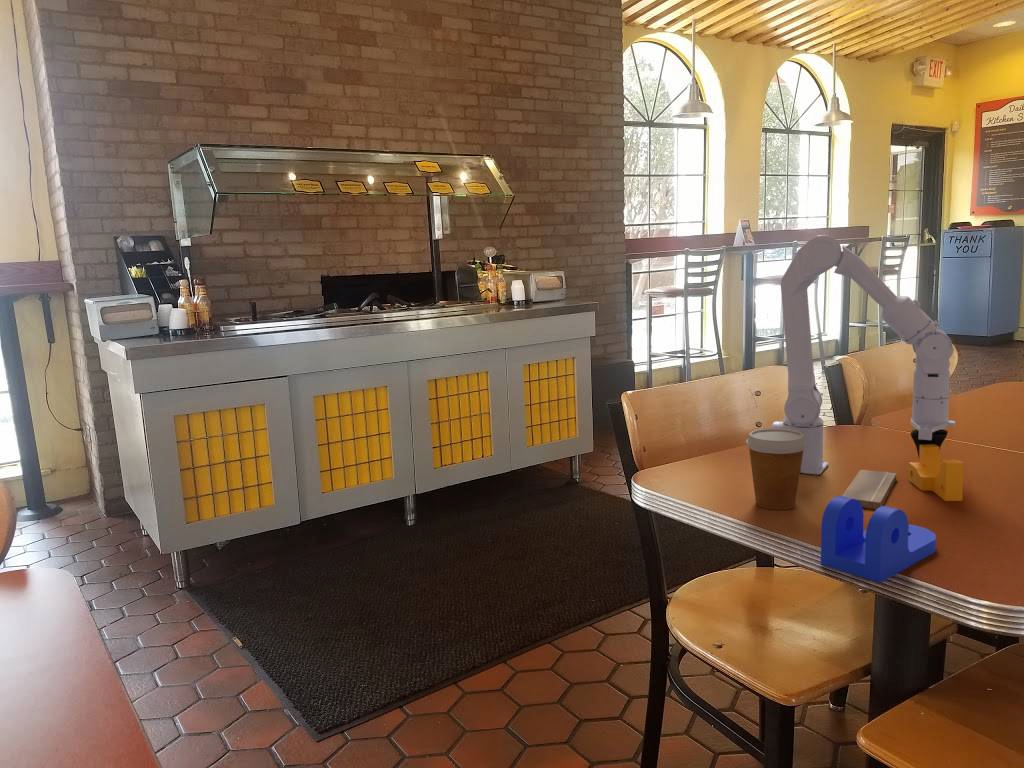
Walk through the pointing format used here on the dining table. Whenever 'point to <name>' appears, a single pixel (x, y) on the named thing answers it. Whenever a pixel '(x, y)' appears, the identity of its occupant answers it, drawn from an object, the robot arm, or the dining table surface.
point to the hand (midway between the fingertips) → (927, 469)
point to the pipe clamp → (937, 474)
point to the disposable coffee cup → (776, 466)
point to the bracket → (871, 540)
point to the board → (871, 488)
